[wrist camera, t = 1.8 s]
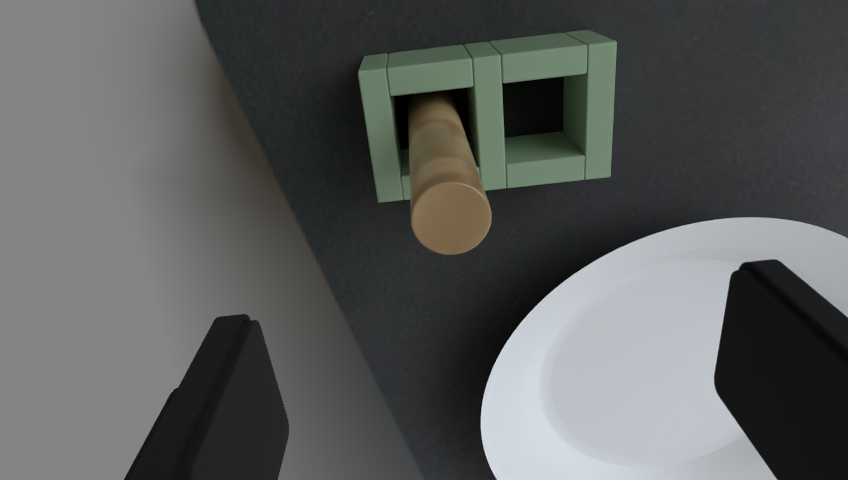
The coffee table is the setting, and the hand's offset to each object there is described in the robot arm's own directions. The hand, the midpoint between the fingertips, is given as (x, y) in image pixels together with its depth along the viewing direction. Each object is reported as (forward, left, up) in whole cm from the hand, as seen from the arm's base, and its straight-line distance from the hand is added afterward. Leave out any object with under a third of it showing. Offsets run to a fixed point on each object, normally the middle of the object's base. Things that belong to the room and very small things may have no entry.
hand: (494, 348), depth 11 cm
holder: (+2, 0, -19) cm, 19 cm away
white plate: (+13, -18, -19) cm, 30 cm away
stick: (0, 0, -19) cm, 19 cm away
